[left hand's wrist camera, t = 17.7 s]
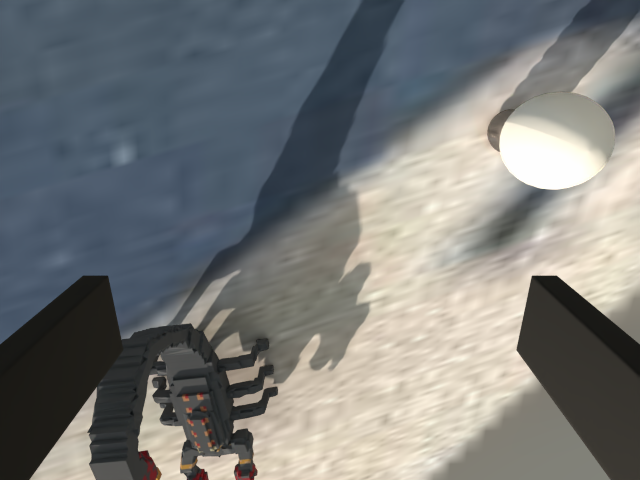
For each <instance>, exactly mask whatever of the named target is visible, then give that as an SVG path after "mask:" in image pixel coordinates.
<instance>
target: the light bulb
mask: <svg viewBox="0 0 640 480" xmlns="http://www.w3.org/2000/svg"><path fill="white" fill-rule="evenodd" d="M488 140H489V142H490V144H491V145H492V146H493V148H494V149H496V150H497V151H499V152H500V154H501V157H502V160H503V162H504V164H505V165H506V167H507V168H508V170H509V171H510V172H511V173H512V174H513V175H514V176H515V177H516V178H518V179H519V180H521V181H523V182H524V183H526V184H529V185H532V186H535V187H538V188H543V189H565V188H568V187H572V186H575V185H579V184H581V183H583V182H585V181H587V180H589V179H590V178H592V177H593V176H594V175H596V174H597V173H598V172H599V171H600V170H601V169H602V168H603V167H604V166H605V164H606V163H607V162H608V160H609V158H610V157H611V154H612V152H613V149H614V143H615V130H614V126H613V122H612V120H611V119H610V117H609V115H608V114H607V112H606V111H605V110H604V109H603V108H602V107H601V106H600V105H599V104H598V103H596V102H595V101H593V100H591V99H590V98H588V97H586V96H583V95H580V94H576V93H570V92H554V93H546V94H542V95H539V96H536V97H534V98H532V99H530V100H528V101H526V102H524V103H523V104H521V105H520V106H519V107H517V108H516V109H515V110H505V111H503V112H500V113H499V114H497V115H496V116H495V117H494V118H493V119H492V121H491V122H490V124H489V127H488Z"/></svg>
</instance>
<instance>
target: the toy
mask: <svg viewBox="0 0 640 480" xmlns="http://www.w3.org/2000/svg"><path fill="white" fill-rule="evenodd" d="M122 345H123V351H122V353H121V354H120V356H119V357H118V358H117V360H116V361H115V362H114V364H113V365H112V367H111V368H110V369H109V371H108V372H107V373H106V375H105V376H104V378H103V379H102V380H101V382H100V383H99V384H98V386H97V398H96V402H95V406H94V413H93V419H92V425H91V427H90V429H89V431H88V432H87V433H90V434H89V437H90V439H91V441H92V442H91V444H90V450H91V454H92V460H91V462H90V463H89V465H90V467H91V470H92V472H93V474H94V476H95V478H96V480H160V477H161V475H162V474H161V472H160V470H159V469H158V467H156V465H155V463H154V461H153V460H152V458H151V457H150V456H149V453H148V450H147V451H140V452H138V442H139V441H138V438H137V437H138V436H139V433H140V425H141V422H142V418H143V416H142V411H143V407H144V402H145V398H146V392H147V384H148V382H147V381H148V377H149V375H153V374H158V376H161V375H167V379H168V383H169V388H170V390H165V389H166V387H167V385H166V379H165V377H156V378H153V380H152V383H153V386H154V388H158V389H157V390H156V392H155V393H154V394H153V395H152V396H153V398H154V401H155V402H156V403H160V407H161V408H165V409H164V411H163V413H162V415H161V417H160V421H161V423H162V424H163V425H168V426H183V429H184V432H185V435H186V438H187V440H186V442H184V445H183V449H182V451H183V452H182V457H181V464H180V473H184V474H185V475H186V476H187V480H208V474H207V472H205V470H204V469H200V468H199V467H198V466H196V463H197V461H198V460H197V457H198V456H200V455H202V456H219V457H220V456H221V455H226V454H232V453H236V454H238V455H239V463H238V464H237V465H236V466H235V470H234V475H235V478H236V480H254V476H256V475H257V469H256V468H255V464H254V463H253V460H252V459H253V455H254V453H253V448H252V445H253V436H252V433H251V432H249V431H248V429H241V430H237V431H236V432H235V433H233V428H234V426H233V422H234V420H239V419H244V418H249V417H254V416H258V415H261V414H264V413H265V410H266V407H267V404H268V400H269V397H273V396H276V395H278V388H277V387H272V388H267V389H265V390H264V392H263V396H262V399H261V400H260V401H259V402H258V403H252V404H247V405H241V406H237V407H235V406H233V403H234V400H233V398H240V397H242V396H244V395H246V394H254V393H256V392H258V391H260V390H262V389H263V384H264V379H265V376H267V375H270V374H273V372H274V368H273V366H264V367H260V369H259V373H258V378H255V379H254V381H246V382H241V383H235V384H232V385H229V381H228V378H227V374H226V371H228V370H235V369H241V368H247V367H252V366H254V363H255V361H256V359H257V355H258V353H259V352H260V351H264V350H267V349H268V348H269V344H268V339H261V340H257V345H255V346H253V348H252V351H251V354H247V355H241V356H238V357H233V358H224V359H220V360H219V358H218V356H217V355H216V353H215V352H214V350H213V349H212V347H211V346H210V344H209V342H208V340H207V338H206V336H205V334H204V332H203V331H198V330H196V329H194V328H193V326H192V324H182V325H172V326H162V327H157V328H150V329H146V330H142V331H138V332H134V334H133V335H132V336H131V338H130V339H122ZM159 355H161V358H162V360H163V361H164V362H162V361H159V362H157V360H158V358H159ZM173 408H174V410H175V412H173Z"/></svg>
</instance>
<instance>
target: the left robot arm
mask: <svg viewBox="0 0 640 480" xmlns="http://www.w3.org/2000/svg"><path fill="white" fill-rule="evenodd" d="M122 351H123V345H122V340H121V336H120V331H119V326H118V321H117V317H116V312H115V307H114V302H113V297H112V293H111V288H110V283H109V278H108V276H82V277H81V278H80V279H79V280H77V281H76V282H75V283H74V284H73V285H71V286H70V287H69V288H68V289H67V290H65V291H64V292H63V293H62V294H61V295H59V296H58V297H57V298H56V299H55V300H53V301H52V302H51V303H50V304H49V305H47V306H46V307H45V308H44V309H43V310H41V311H40V312H39V313H38V314H36V315H35V316H34V317H33V318H32V319H30V320H29V321H28V322H27V323H26V324H24V325H23V326H22V327H21V328H20V329H18V330H17V331H16V332H15V333H14V334H12V335H11V336H10V337H9V338H8V339H6V340H5V341H4V342H3V343H1V344H0V480H29V479H30V478H31V477H32V475H33V474H34V473H35V471H36V470H37V468H38V467H39V466H40V464H41V463H42V462H43V460H44V459H45V457H46V456H47V455H48V453H49V452H50V450H51V449H52V448H53V446H54V445H55V444H56V442H57V441H58V439H59V438H60V437H61V435H62V434H63V433H64V431H65V430H66V428H67V427H68V426H69V424H70V423H71V422H72V420H73V419H74V417H75V416H76V415H77V413H78V412H79V411H80V409H81V408H82V406H83V405H84V404H85V402H86V401H87V400H88V398H89V397H90V395H91V394H92V393H93V391H94V390H95V389H96V387H97V386H98V384H99V383H100V382H101V380H102V379H103V378H104V376H105V375H106V373H107V372H108V371H109V369H110V368H111V367H112V365H113V364H114V362H115V361H116V360H117V358H118V357H119V356H120V354H121V353H122ZM517 351H518V353H519V354H520V356H521V357H522V358H523V360H524V361H525V362H526V364H527V365H528V367H529V368H530V369H531V371H532V372H533V373H534V375H535V376H536V378H537V379H538V380H539V382H540V383H541V384H542V386H543V387H544V389H545V390H546V391H547V393H548V394H549V395H550V397H551V398H552V400H553V401H554V402H555V404H556V405H557V406H558V408H559V409H560V411H561V412H562V413H563V415H564V416H565V417H566V419H567V420H568V422H569V423H570V424H571V426H572V427H573V428H574V430H575V431H576V433H577V434H578V435H579V437H580V438H581V439H582V441H583V442H584V444H585V445H586V446H587V448H588V449H589V450H590V452H591V453H592V455H593V456H594V457H595V459H596V460H597V461H598V463H599V464H600V466H601V467H602V468H603V470H604V471H605V472H606V474H607V475H608V477H609V478H610V479H611V480H640V344H638V343H637V342H636V341H635V340H634V339H632V338H631V337H630V336H629V335H628V334H626V333H625V332H624V331H623V330H622V329H620V328H619V327H618V326H617V325H616V324H614V323H613V322H612V321H611V320H610V319H608V318H607V317H606V316H605V315H604V314H602V313H601V312H600V311H599V310H597V309H596V308H595V307H594V306H593V305H591V304H590V303H589V302H588V301H587V300H585V299H584V298H583V297H582V296H581V295H579V294H578V293H577V292H576V291H575V290H573V289H572V288H571V287H570V286H569V285H567V284H566V283H565V282H564V281H562V280H561V279H560V278H559V277H558V276H532V278H531V283H530V288H529V293H528V297H527V302H526V307H525V312H524V317H523V321H522V326H521V331H520V336H519V340H518V345H517Z"/></svg>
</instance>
